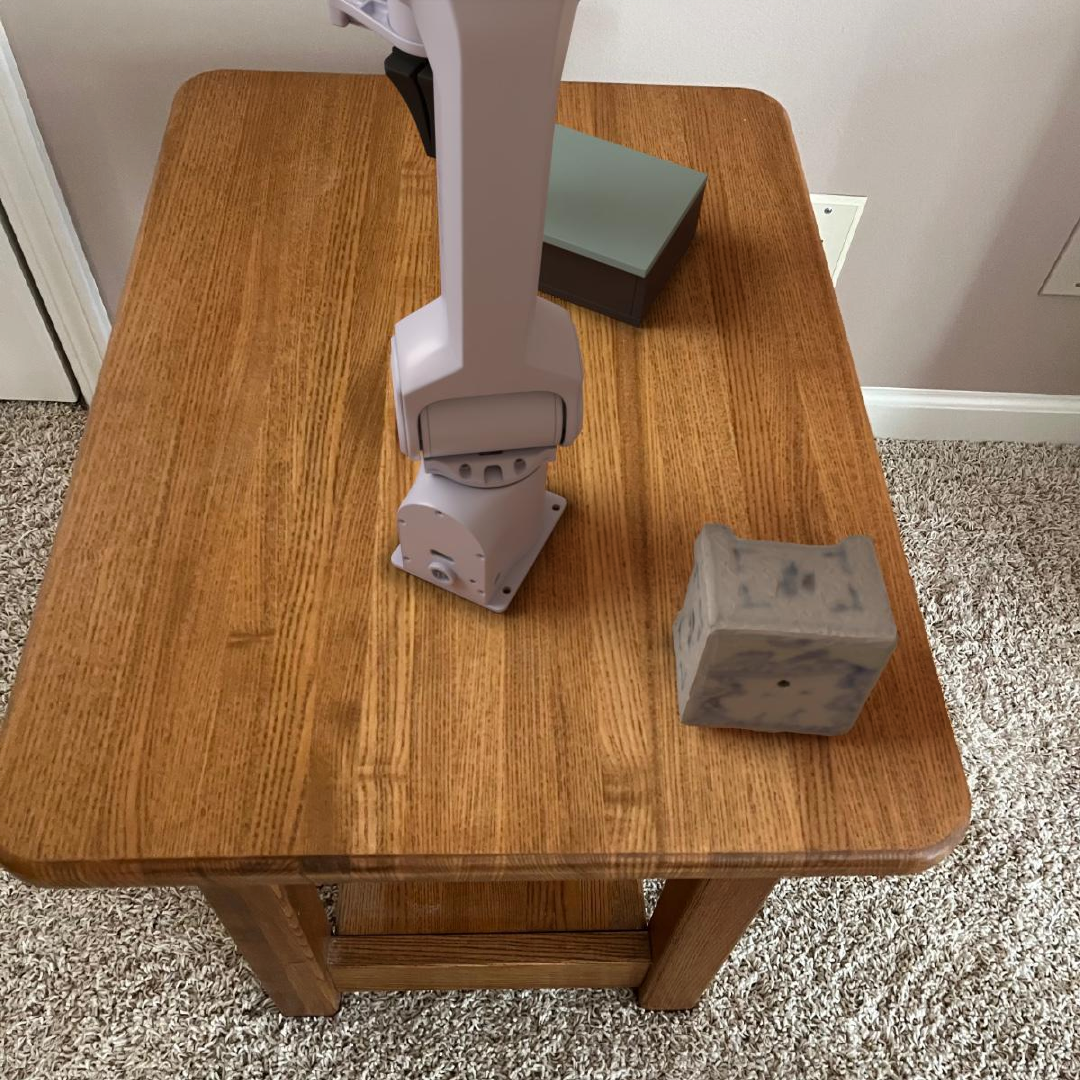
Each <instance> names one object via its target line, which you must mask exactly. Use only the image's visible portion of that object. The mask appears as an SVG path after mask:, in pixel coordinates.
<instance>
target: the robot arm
mask: <svg viewBox="0 0 1080 1080" xmlns="http://www.w3.org/2000/svg"><path fill="white" fill-rule="evenodd" d="M326 1H327V9H328V16H329V23H330V25H332V26H336V27H339V28H346V27H348V26H349V24H350V25H353V26H356V27H359V28H363V29H365V30H369V31H371V32H373V33H375V34H377V35H378V36H380V37H381V38H382V39H384V40H386V41H387V42H388V43H390V44H391V45H392V47H391V53H390V54H389V55H388V56H386V57H385V59H384V61H383V68H384V73H385V76H386V77H387V78H388V79H389V81H390V82H391V83H392V84H393V86H394V87H395V88H396V90H397V92H399V94H400V96H401V97H402V99H403V101H404V102H405V105H406V106H407V109H408V110H409V112H410V114H411V117H412V119H413V121H414V123H415V126H416V129H417V132H418V134H419V138H420V140H421V143H422V146H423V149H424V151H425V155H426V157H429V158H432V159H434V160H436V162H435V164H436V189H437V191H436V192H437V215H438V219H437V220H438V241H439V245H438V246H439V268H440V272H439V273H440V295H439V296H438V297H437V298H435V299H434V300H432V301H430V302H429V303H427V304H425V305H424V306H421V307H419V308H418V309H416V310H414V311H413V312H411V313H410V314H408V315H406V316H404V317H403V318H402V319H400V320H398V322H396V323H395V324H394V334H393V335H392V336H391V337H390V346H391V347H390V348H391V353H390V356H389V357H390V358H389V359H390V369H391V379H392V387H393V397H394V406H395V407H394V408H395V416H396V423H397V426H396V427H397V433H398V441H399V449H400V452H401V453H402V454H403V455H405V456H406V457H408V459H409V461H410V462H420V463H419V468H418V471H417V474H416V477H415V479H414V482H413V484H412V485H411V487H410V489H409V490H408V493H407V495H406V496H405V498H404V499H403V500H402V502H401V503H400V505H399V506H398V509H397V512H396V524H397V532H398V538H399V544H398V546H397V547H396V549H395V550H394V551H393V553H392V554H391V557H390V560H391V564H392V566H393V567H396V568H397V569H399V570H402V571H404V572H406V573H408V574H411V575H413V576H415V577H417V578H419V579H422V580H423V581H426V582H428V583H430V584H433V585H434V586H437V587H439V588H441V589H443V590H445V591H448V592H450V593H453V594H455V595H457V596H459V597H461V598H462V599H463V598H464V599H466V600H468V601H471V602H472V603H474V604H477V605H478V606H481V607H483V608H486V609H488V610H490V611H492V612H494V613H497V614H502V613H503V612H505V611H506V610H508V607H509V606H510V604H511V602H512V600H513V599H514V597H515V595H516V594H517V592H518V591H519V588H520V587H521V585H522V583H523V582H524V580H525V578H526V576H527V575H528V574H529V571H530V570H531V568H532V566H533V565H534V563H535V561H536V559H537V558H538V556H539V554H540V552H541V551H542V549H543V548H544V546H545V545H546V542H547V540H548V539H549V538H550V536H551V534H552V532H553V531H554V529H555V528H556V526H557V523H558V522H559V520H560V519H561V517H562V515H563V514H564V512H565V510H566V508H567V505H568V502H567V499H566V498H565V497H563V496H562V495H559V494H557V493H554V492H552V491H549V490H547V489H546V487H547V473H548V463H553V462H556V460H557V451H558V450H557V449H558V446H559V447H562V448H566V447H572V445H574V443H575V441H576V440H577V438H578V437H579V436H580V434H581V432H582V429H583V424H584V423H583V422H584V389H583V387H584V379H585V371H584V361H583V356H582V350H581V345H580V339H579V336H578V335H579V334H578V330H577V327H576V325H575V323H574V322H573V321H572V318H571V315H570V312H569V311H568V310H567V309H566V308H564V307H562V306H561V305H558V304H556V303H555V302H553V301H550V300H548V299H546V298H544V297H541V296H538V291H539V290H538V282H539V273H540V263H541V254H542V244H543V235H544V225H545V216H546V206H547V197H548V187H549V178H550V168H551V159H552V149H553V140H554V130H555V124H556V119H557V110H558V102H559V101H558V100H559V92H560V87H561V82H562V77H563V72H564V68H565V64H566V60H567V59H566V58H567V56H568V55H567V54H568V49H569V45H570V40H571V37H572V32H573V27H574V24H575V23H574V22H575V19H576V12H577V9H578V5H579V3H580V2H581V0H326ZM555 508H556V509H558V510H555ZM505 591H509V593H505Z"/></svg>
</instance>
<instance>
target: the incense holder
mask: <svg viewBox="0 0 1080 1080" xmlns="http://www.w3.org/2000/svg"><path fill="white" fill-rule="evenodd" d="M693 558H694V559H693V560H694V562H693V569H692V572H691V575H690V578H689V582H688V583H687V587H686V594H685V597H684V601H683V603H682V608H680V610H679V611H676V612H677V613H676V617H675V620H674V621H673V624H672V626H671V630H672V635H673V650H674V655H675V671H676V691H677V705H678V706H677V707H678V713H679V714H678V715H679V723H681V724H683V725H685V726H689V727H700V728H701V727H702V728H719V729H720V728H721V729H723V728H725V729H727V728H728V729H729V728H731V729H732V728H733V729H743V730H750V731H751V730H752V731H754V732H756V733H757V732H758V733H764V734H765V733H767V734H769V733H770V734H771V733H774V734H776V733H782V732H786V733H796V734H804V735H806V734H807V735H818V736H824V737H838V736H841V735H846V734H847V733H848V732H849V731H850V730H852V729H853V727H854V726H855V723H856V721H857V720H858V718H859V716H860V714H861V712H862V710H863V707H864V705H865V703H866V702H867V700H868V698H869V697H870V695H871V693H872V691H873V689H874V687H875V686H876V684H877V683H878V681H879V679H880V677H881V675H882V673H883V671H884V670H885V668H886V667H887V665H888V664H889V661H890V658H891V656H892V655H893V654H894V652H895V651H896V648H897V646H898V644H899V635H898V630H897V629H898V628H897V625H896V622H895V618H894V615H893V611H892V605H891V602H890V598H889V595H888V590H887V586H886V584H885V579H884V577H883V572H882V569H881V564H880V562H879V560H878V554H877V552H876V548H875V539H873V538H872V537H871V536H870V535H865V534H858V533H857V534H856V533H853V534H851V535H848V536H845V537H842V538H841V539H840V540H839V541H838V543H836V544H825V545H824V544H822V545H819V544H818V545H814V544H802V543H798V542H797V543H796V542H789V541H787V542H786V541H775V540H771V539H767V540H760V539H755V538H745V537H744V538H743V537H739V536H737V535H736V534H735V532H734V530H733V529H732V528H731V526H730V525H727V524H724V523H719V522H713V523H712V522H706V523H703V524H702V526H701V530H700V532H699V534H698V535H697V537H696V538H695V540H694V544H693Z"/></svg>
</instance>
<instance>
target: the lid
mask: <svg viewBox="0 0 1080 1080" xmlns="http://www.w3.org/2000/svg"><path fill="white" fill-rule="evenodd" d="M708 177H709V174H708V173H706V172H703V171H699V170H697V169H693V168H691V167H687V166H684V165H681V164H679V163H675V162H672V161H670V160H667V159H663V158H661V157H657V156H655V155H651V154H648V153H646V152H642V151H639V150H636V149H633V148H631V147H627V146H624V145H621V144H618V143H615V142H612V141H609V140H606V139H603V138H600V137H597V136H595V135H591V134H588V133H585V132H582V131H579V130H576V129H573V128H571V127H567V126H564V125H561V124H558V123H555V130H554V140H553V149H552V159H551V168H550V178H549V187H548V197H547V206H546V216H545V225H544V235H543V241H544V242H546V243H549V244H552V245H555V246H558V247H560V248H563V249H566V250H569V251H571V252H574V253H577V254H580V255H582V256H585V257H588V258H591V259H593V260H596V261H599V262H602V263H605V264H607V265H610V266H613V267H616V268H618V269H621V270H624V271H627V272H629V273H632V274H635V275H638V276H641V277H643V278H645V277H646V275H647V274H648V272H649V271H650V269H651V268H652V266H653V265H654V263H655V261H656V260H657V258H658V257H659V255H660V254H661V252H662V251H663V249H664V247H665V246H666V244H667V243H668V241H669V240H670V238H671V237H672V235H673V233H674V232H675V230H676V229H677V227H678V226H679V224H680V223H681V221H682V219H683V218H684V216H685V215H686V213H687V212H688V210H689V209H690V207H691V205H692V204H693V202H694V201H695V199H696V198H697V196H698V195H699V193H700V191H701V190H702V188H703V187H704V185H705V184H706V185H707V182H708Z"/></svg>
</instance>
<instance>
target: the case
mask: <svg viewBox="0 0 1080 1080" xmlns="http://www.w3.org/2000/svg"><path fill="white" fill-rule="evenodd" d="M706 186H707V183H706V184H705V185H704V187H703V188H702V190H701V191H700V193H699V195H698V196H697V198H696V199H695V201H694V202H693V204H692V205H691V207H690V209H689V210H688V212H687V213H686V215H685V216H684V218H683V219H682V221H681V223H680V224H679V226H678V227H677V229H676V230H675V232H674V233H673V235H672V237H671V238H670V240H669V241H668V243H667V244H666V246H665V247H664V249H663V251H662V252H661V254H660V255H659V257H658V258H657V260H656V261H655V263H654V265H653V266H652V268H651V269H650V271H649V272H648V274H647V275H646V277H645V278H643V277H641V276H638V275H635V274H632V273H629V272H627V271H624V270H621V269H618V268H616V267H613V266H610V265H607V264H605V263H602V262H599V261H596V260H593V259H591V258H588V257H585V256H582V255H580V254H577V253H574V252H571V251H569V250H566V249H563V248H560V247H558V246H555V245H552V244H549V243H546V242H544V241H543V244H542V254H541V263H540V273H539V282H538V291H539V292H542V293H545V294H547V295H549V296H552V297H555V298H558V299H561V300H563V301H566V302H569V303H571V304H574V305H576V306H579V307H581V308H585V309H586V310H587V309H588V310H590V311H593V312H595V313H598V314H601V315H604V316H606V317H609V318H612V319H614V320H616V321H619V322H623V323H625V324H627V325H631V326H633V327H635V328H638V329H639V328H640V327H641V326H642V325H643V323H644V321H645V319H646V318H647V316H648V315H649V313H650V311H651V309H652V308H653V307H654V305H655V303H656V301H657V300H658V298H659V297H660V295H661V294H662V292H663V290H664V288H666V285H667V283H668V282H669V280H670V279H671V277H672V275H673V274H674V272H675V270H676V269H677V267H678V266H679V264H680V262H681V261H682V259H683V258H684V256H685V255H686V253H687V251H688V250H689V248H690V246H691V245H692V243H693V241H694V239H695V237H696V233H697V228H698V224H699V219H700V215H701V210H702V205H703V201H704V196H705V191H706Z"/></svg>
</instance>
